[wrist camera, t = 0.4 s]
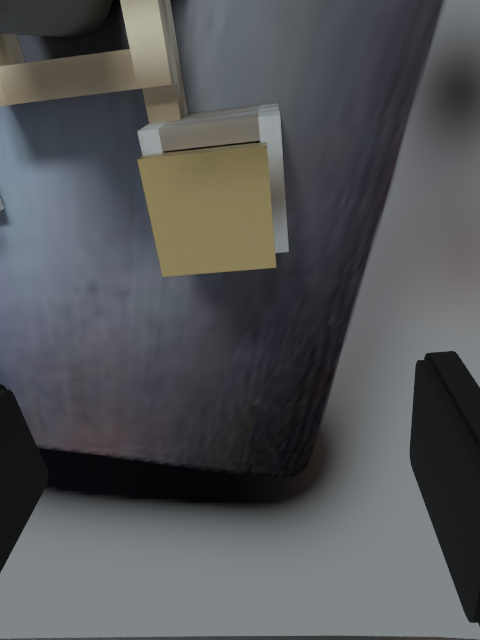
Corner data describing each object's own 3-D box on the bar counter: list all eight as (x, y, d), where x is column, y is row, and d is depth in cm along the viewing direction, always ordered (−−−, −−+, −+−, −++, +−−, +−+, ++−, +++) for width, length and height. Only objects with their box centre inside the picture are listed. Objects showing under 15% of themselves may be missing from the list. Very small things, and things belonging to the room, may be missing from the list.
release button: (161, 138, 28) (137, 159, 23) (266, 126, 27) (266, 145, 22) (179, 238, 31) (162, 276, 26) (274, 230, 30) (276, 267, 25)
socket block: (-74, -141, 25) (-162, -190, 20) (258, -202, 23) (255, -274, 18) (54, 242, 36) (19, 275, 31) (285, 220, 34) (288, 252, 29)
